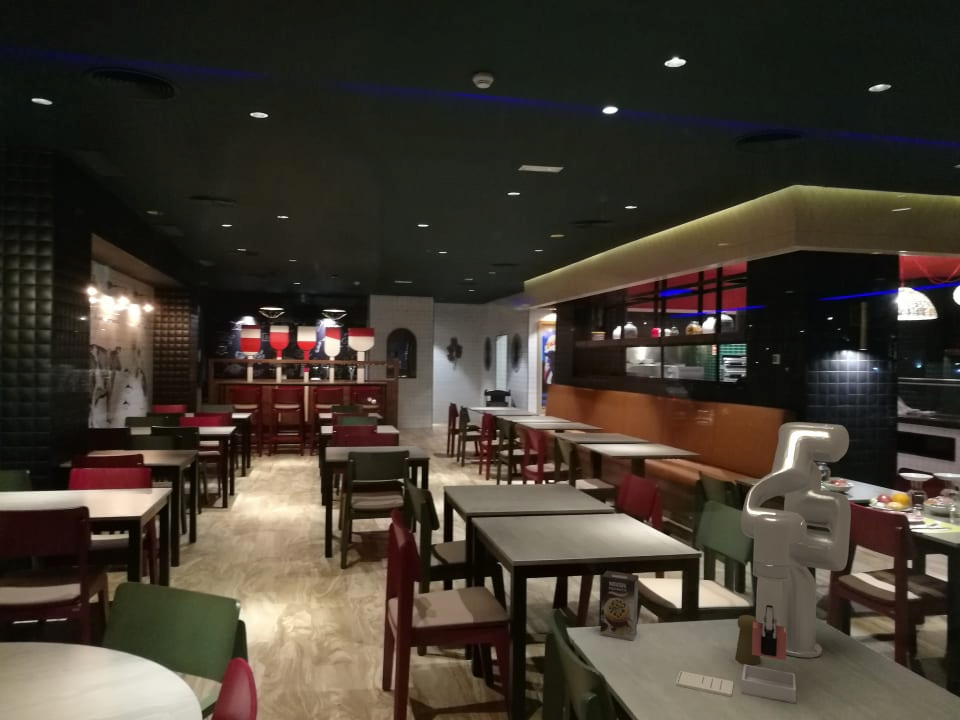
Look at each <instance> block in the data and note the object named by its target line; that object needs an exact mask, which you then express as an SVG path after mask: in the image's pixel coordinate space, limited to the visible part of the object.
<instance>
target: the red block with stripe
mask: <svg viewBox="0 0 960 720" xmlns="http://www.w3.org/2000/svg"><path fill="white" fill-rule="evenodd" d="M765 627H766V625H765ZM772 628H773V626H772ZM762 634H763V622H759V623H758V622H753V632H752V655H758V656H760V657H764V658H770V659H775V660H781V661H786V659H787V654H786V627H782V626H776V638H777V651H776V656H769V655H764V654H761V635H762Z"/></svg>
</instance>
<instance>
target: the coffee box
mask: <svg viewBox="0 0 960 720" xmlns="http://www.w3.org/2000/svg"><path fill="white" fill-rule="evenodd" d="M601 577H602V578H601V604H600V605H601V606H600V607H601V609H600V636H605V637H610V638H616V639H621V640H627V641H631V642H632V641H634V639H635V637H636V635H637V632H638V631H637V630H638V629H637V628H638V627H637V626H638V599H639V575H638V574H632V573H624V572H618V571H612V570H606V571H605V572H604V573H603V574H602V576H601Z"/></svg>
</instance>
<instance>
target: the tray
mask: <svg viewBox="0 0 960 720" xmlns="http://www.w3.org/2000/svg"><path fill="white" fill-rule="evenodd" d="M742 669H743V670H742V678H741V679H742V680H741V694H743V695H749V696H755V697H760V698H762V699H763V698H765V699H769V700H774V701H779V702H784V703H788V704H789V703H790V704H794V705H796V698H797V697H796V696H797V688H796V687H797V685H796V673H793V672H787V671H782V670H777V669H770V668H767V667H762V666H761V667H760V666H750V665H745V664H743V668H742Z"/></svg>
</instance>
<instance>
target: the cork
mask: <svg viewBox="0 0 960 720" xmlns="http://www.w3.org/2000/svg"><path fill="white" fill-rule="evenodd" d="M753 622H757V621H756V616H753V615H749V614H743V615H740V616H739V617H738V618H737V626H738V628H739V633H738V639H737V645H736V649H735V650H736V652H735V656H734V657H735V661H736V662H737V663H739V664H742V665H744V664H745V665H750V666H756V667H759V666H760V665H761V664H762V661H761V656H758V655H752V632H753Z"/></svg>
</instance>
